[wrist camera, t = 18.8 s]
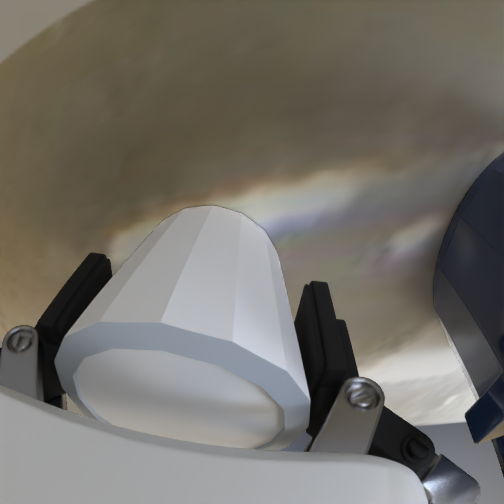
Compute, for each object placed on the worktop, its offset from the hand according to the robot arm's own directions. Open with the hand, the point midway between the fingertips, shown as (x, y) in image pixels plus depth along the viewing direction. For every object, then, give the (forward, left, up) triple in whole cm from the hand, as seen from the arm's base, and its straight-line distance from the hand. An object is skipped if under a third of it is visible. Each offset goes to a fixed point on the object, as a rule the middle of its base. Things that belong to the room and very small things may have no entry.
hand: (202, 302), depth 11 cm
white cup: (0, 0, -2) cm, 2 cm away
